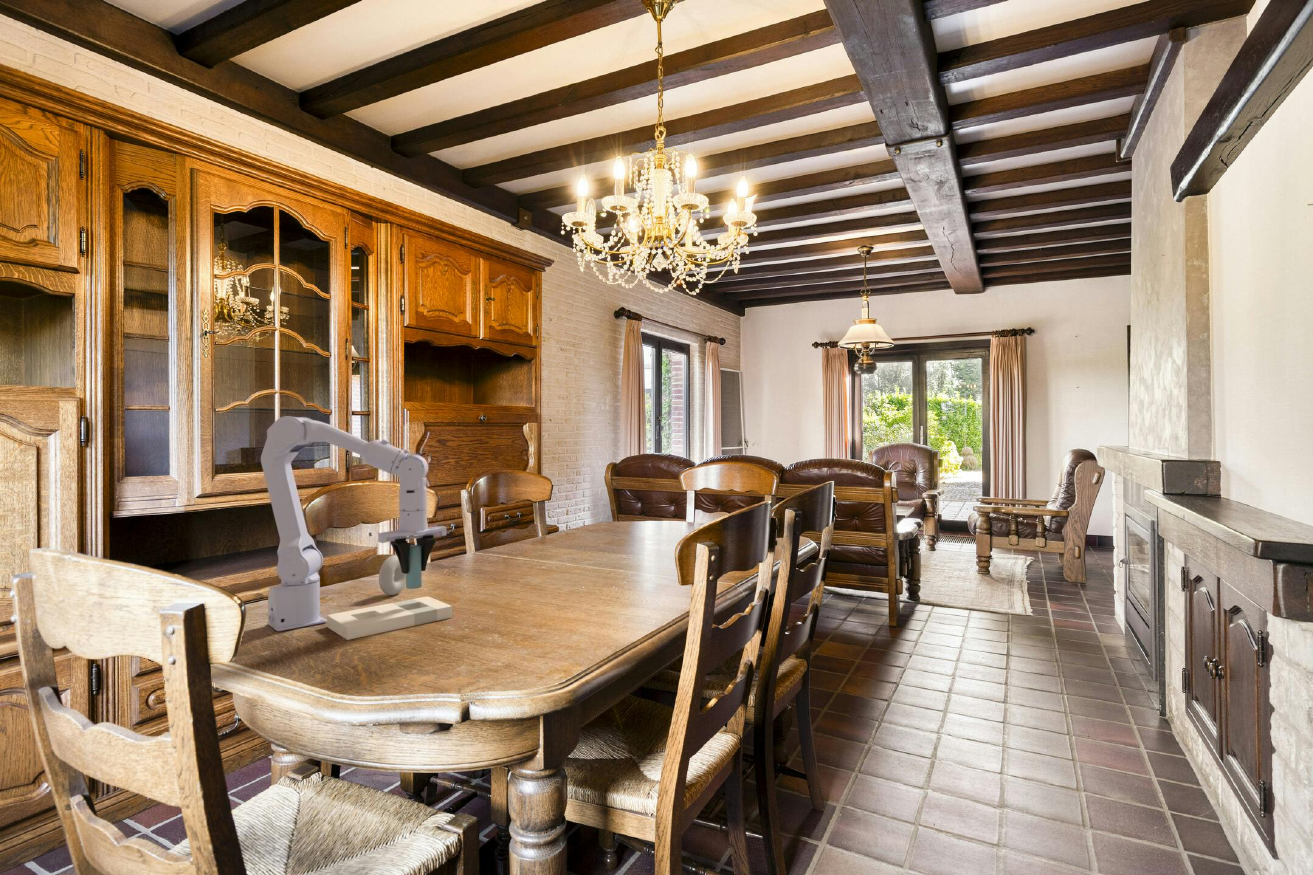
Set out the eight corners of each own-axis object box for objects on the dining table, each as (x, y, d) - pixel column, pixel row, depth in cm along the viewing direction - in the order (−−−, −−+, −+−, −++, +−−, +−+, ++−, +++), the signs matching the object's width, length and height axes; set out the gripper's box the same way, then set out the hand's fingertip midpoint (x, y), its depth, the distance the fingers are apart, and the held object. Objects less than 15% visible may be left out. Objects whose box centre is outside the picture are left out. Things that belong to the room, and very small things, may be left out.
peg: (409, 589, 141) (409, 548, 141) (403, 587, 143) (403, 546, 143) (424, 587, 143) (423, 546, 143) (417, 584, 146) (417, 544, 146)
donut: (388, 600, 158) (388, 559, 158) (375, 599, 159) (375, 558, 159) (411, 590, 168) (411, 551, 168) (399, 589, 169) (398, 551, 169)
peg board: (347, 639, 128) (347, 627, 128) (327, 626, 137) (326, 614, 137) (452, 617, 143) (452, 606, 143) (428, 606, 152) (427, 596, 152)
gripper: (387, 514, 135) (387, 579, 136) (452, 508, 145) (453, 569, 146) (374, 511, 140) (374, 574, 141) (438, 506, 151) (438, 564, 151)
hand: (413, 571), depth 143 cm, fingers closed on peg, 3 cm apart
